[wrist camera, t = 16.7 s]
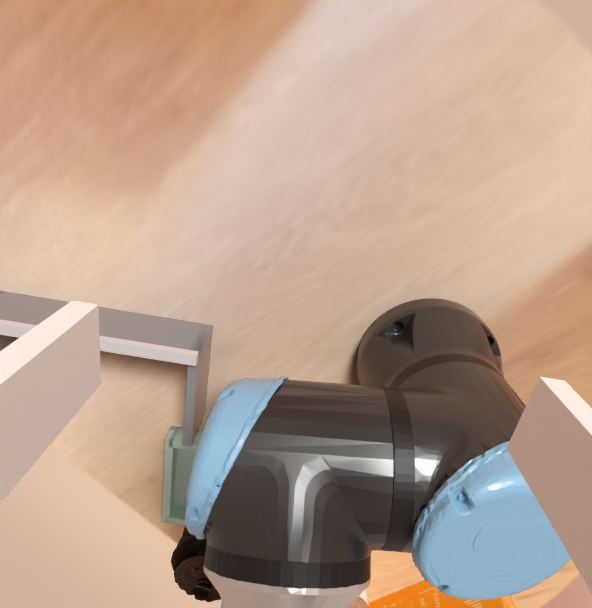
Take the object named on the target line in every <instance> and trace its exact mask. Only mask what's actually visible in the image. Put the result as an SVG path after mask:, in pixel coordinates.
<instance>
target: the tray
mask: <svg viewBox="0 0 592 608" xmlns="http://www.w3.org/2000/svg"><path fill="white" fill-rule="evenodd" d="M183 429H184V428H179V427H173V426H172V427H171V429H170V431H169V433H168V435H167V437H166V439H165V453H164V476H163V500H162V522H165V523H172V524H179V525H185V512H186V508H187V503H188V502H187V490H188V485H189V480H190V475H191V471H192V467H193V463H194V459H195V455H196V451H197V448H198V445H199V442H200V439H201V435H202V433H203V431H197V434H196V436H195V439H194V441H193V444H192V447H191V446H185V445H182V444H183ZM185 526H186V525H185Z"/></svg>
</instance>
